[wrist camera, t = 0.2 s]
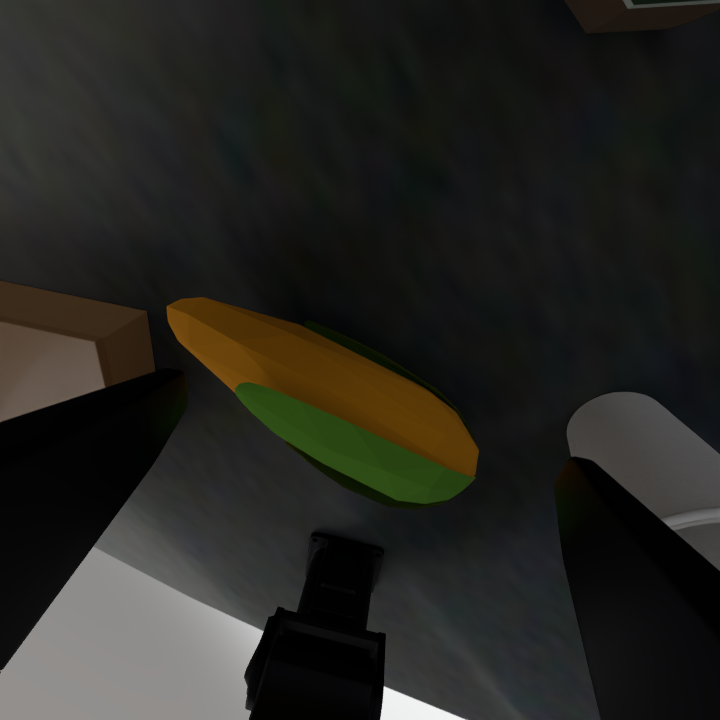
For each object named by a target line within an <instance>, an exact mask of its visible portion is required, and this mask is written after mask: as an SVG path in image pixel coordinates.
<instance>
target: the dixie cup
mask: <svg viewBox="0 0 720 720" xmlns="http://www.w3.org/2000/svg"><path fill="white" fill-rule="evenodd" d="M567 439H568V443H569V448H570V454H571V457H574V456H577V457H581V458H586V459H590V460H592V461H594V462H595V463H596V464H598V465H599V466H600V467H601V468H602V469H603V470H604V471H606V472H607V473H608V474H609V475H610V476H611V477H612V478H614V479H615V480H616V481H617V482H618V483H619V484H620V485H622V486H623V487H624V488H625V489H626V490H627V491H629V492H630V493H631V494H632V495H633V496H634V497H635V498H637V499H638V500H639V501H640V502H641V503H642V504H643V505H645V506H646V507H647V508H648V509H649V510H650V511H652V512H653V513H654V514H655V515H656V516H657V517H658V518H660V519H661V520H662V521H663V522H664V523H665V524H666V525H668V526H669V527H670V528H671V529H672V530H673V531H674V532H676V533H677V534H678V535H679V536H680V537H681V538H683V539H684V540H685V541H686V542H687V543H688V544H689V545H691V546H692V547H693V548H694V549H695V550H696V551H697V552H699V553H700V554H701V555H702V556H703V557H704V558H706V559H707V560H708V561H709V562H710V563H711V564H712V565H714V566H715V567H716V568H717V569H718V570H719V571H720V454H719V453H718V452H717V451H715V450H714V449H713V448H712V447H711V446H709V445H708V444H707V443H706V442H705V441H703V440H702V439H701V438H700V437H699V436H698V435H696V434H695V433H694V432H693V431H692V430H690V429H689V428H688V427H687V426H686V425H684V424H683V423H682V422H681V421H680V420H678V419H677V418H676V417H675V416H674V415H673V414H671V413H670V412H669V411H668V410H667V409H665V408H664V407H663V406H662V405H661V404H660V403H658V402H657V401H656V400H654V399H653V398H651V397H649V396H646V395H643V394H640V393H634V392H614V393H609V394H605V395H602V396H599V397H596V398H594V399H592V400H590V401H588V402H587V403H585V404H584V405H583V406H581V407H580V408H579V409H578V410H577V411H576V412H575V413H574V414H573V416H572V417H571V419H570V421H569V423H568V426H567Z"/></svg>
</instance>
